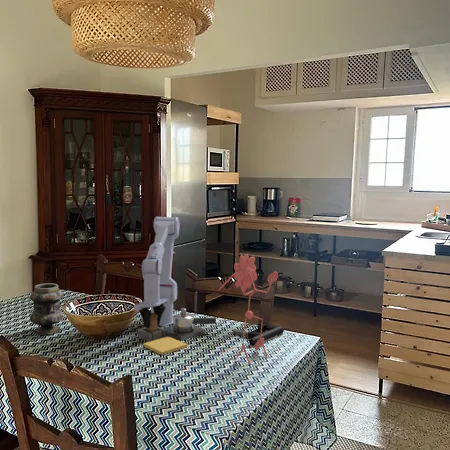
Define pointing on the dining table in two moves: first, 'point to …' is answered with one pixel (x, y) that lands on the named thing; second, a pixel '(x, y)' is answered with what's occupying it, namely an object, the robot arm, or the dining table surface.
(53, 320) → the apothecary jar
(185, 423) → the dining table surface
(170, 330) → the chuck stand
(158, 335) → the socket
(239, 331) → the door handle
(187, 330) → the lidded saucepan
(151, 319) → the brown upright block
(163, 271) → the robot arm
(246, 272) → the pink stick man
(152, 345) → the mat
